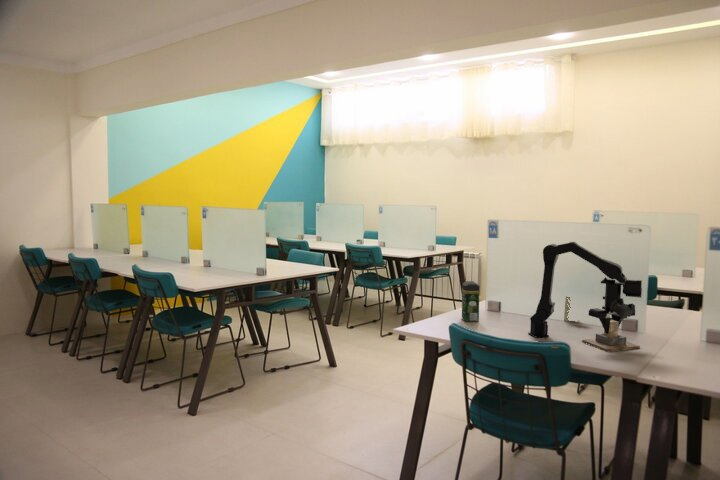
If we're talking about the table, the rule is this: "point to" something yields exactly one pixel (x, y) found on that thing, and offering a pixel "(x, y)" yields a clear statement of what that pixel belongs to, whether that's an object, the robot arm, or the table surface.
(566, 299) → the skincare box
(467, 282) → the coffee jar
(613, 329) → the maple peg
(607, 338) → the collar stand
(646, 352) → the table surface
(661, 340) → the table surface
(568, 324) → the table surface
